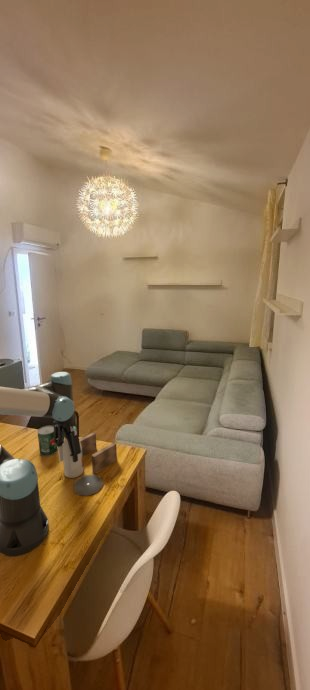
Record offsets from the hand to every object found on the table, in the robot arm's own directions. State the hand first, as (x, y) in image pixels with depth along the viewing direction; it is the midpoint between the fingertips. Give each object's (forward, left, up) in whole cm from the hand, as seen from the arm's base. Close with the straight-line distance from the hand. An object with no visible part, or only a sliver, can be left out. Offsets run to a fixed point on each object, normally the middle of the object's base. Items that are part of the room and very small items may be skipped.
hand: (68, 463), depth 120 cm
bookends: (+13, 0, -5) cm, 14 cm away
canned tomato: (+4, +22, -5) cm, 23 cm away
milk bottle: (+2, 0, -5) cm, 6 cm away
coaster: (+1, -11, -5) cm, 12 cm away
